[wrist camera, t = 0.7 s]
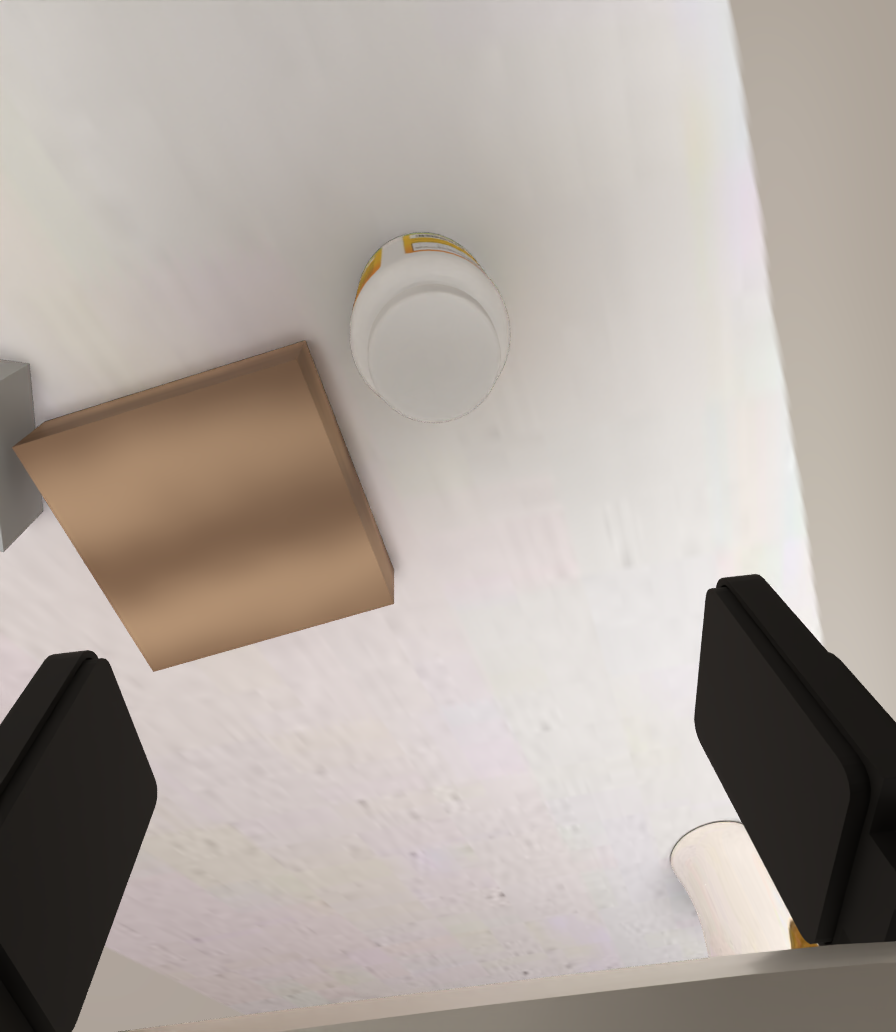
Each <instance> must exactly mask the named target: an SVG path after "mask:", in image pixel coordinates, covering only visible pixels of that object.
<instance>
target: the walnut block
mask: <svg viewBox="0 0 896 1032" xmlns="http://www.w3.org/2000/svg"><path fill="white" fill-rule="evenodd" d="M12 448H13V450H14V452H15V453H16V455H17V456H18V458H19V460H20V461H21V463H22V464H23V466H24V468H25V469H26V471H27V472H28V474H29V475H30V477H31V479H32V480H33V482H34V483H35V485H36V487H37V488H38V490H39V491H40V493H41V494H42V496H43V498H44V499H45V501H46V502H47V504H48V506H49V507H50V509H51V510H52V512H53V513H54V515H55V517H56V518H57V520H58V521H59V523H60V525H61V526H62V528H63V529H64V531H65V533H66V534H67V536H68V537H69V539H70V540H71V542H72V544H73V545H74V547H75V548H76V550H77V552H78V553H79V555H80V556H81V558H82V559H83V561H84V563H85V564H86V566H87V567H88V569H89V571H90V572H91V574H92V575H93V577H94V578H95V580H96V582H97V583H98V585H99V586H100V588H101V590H102V591H103V593H104V594H105V596H106V598H107V599H108V601H109V602H110V604H111V605H112V607H113V609H114V610H115V612H116V613H117V615H118V617H119V618H120V620H121V621H122V623H123V624H124V626H125V628H126V629H127V631H128V632H129V634H130V636H131V637H132V639H133V640H134V642H135V643H136V645H137V647H138V648H139V650H140V651H141V653H142V655H143V656H144V658H145V659H146V661H147V663H148V664H149V666H150V667H151V669H152V670H153V672H154V671H158V670H162V669H165V668H169V667H172V666H176V665H179V664H183V663H186V662H190V661H193V660H197V659H200V658H204V657H207V656H211V655H215V654H218V653H222V652H225V651H229V650H232V649H236V648H239V647H243V646H246V645H250V644H253V643H257V642H261V641H264V640H268V639H271V638H275V637H278V636H282V635H285V634H289V633H292V632H296V631H299V630H303V629H306V628H310V627H314V626H317V625H321V624H324V623H328V622H331V621H335V620H338V619H342V618H345V617H349V616H352V615H356V614H359V613H363V612H367V611H370V610H374V609H377V608H381V607H384V606H388V605H391V604H394V569H393V566H392V564H391V561H390V559H389V556H388V553H387V551H386V548H385V546H384V543H383V540H382V538H381V535H380V533H379V530H378V527H377V525H376V522H375V520H374V517H373V514H372V512H371V509H370V507H369V504H368V502H367V499H366V496H365V494H364V491H363V489H362V486H361V483H360V481H359V478H358V476H357V473H356V470H355V468H354V465H353V463H352V460H351V457H350V455H349V452H348V450H347V447H346V445H345V442H344V439H343V437H342V434H341V432H340V429H339V426H338V424H337V421H336V419H335V416H334V413H333V411H332V408H331V406H330V403H329V401H328V398H327V395H326V393H325V390H324V388H323V385H322V382H321V380H320V377H319V375H318V372H317V369H316V367H315V364H314V362H313V359H312V356H311V354H310V351H309V349H308V346H307V344H306V341H302V342H299V343H295V344H292V345H289V346H286V347H283V348H279V349H276V350H273V351H270V352H267V353H263V354H260V355H257V356H254V357H250V358H247V359H244V360H241V361H238V362H234V363H231V364H228V365H225V366H222V367H218V368H215V369H212V370H209V371H206V372H202V373H199V374H196V375H193V376H190V377H186V378H183V379H180V380H177V381H174V382H170V383H167V384H164V385H161V386H158V387H154V388H151V389H148V390H145V391H142V392H138V393H135V394H132V395H129V396H126V397H122V398H119V399H116V400H113V401H110V402H106V403H103V404H100V405H97V406H93V407H90V408H87V409H84V410H81V411H77V412H74V413H71V414H68V415H65V416H61V417H58V418H55V419H52V420H49V421H45V422H44V423H42V424H41V425H40V426H39V427H37V428H36V429H35V430H33V431H32V432H31V433H30V434H28V435H27V436H26V437H24V438H23V439H22V440H21V441H19V442H18V443H17V444H15V445H14V446H13V447H12Z"/></svg>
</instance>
